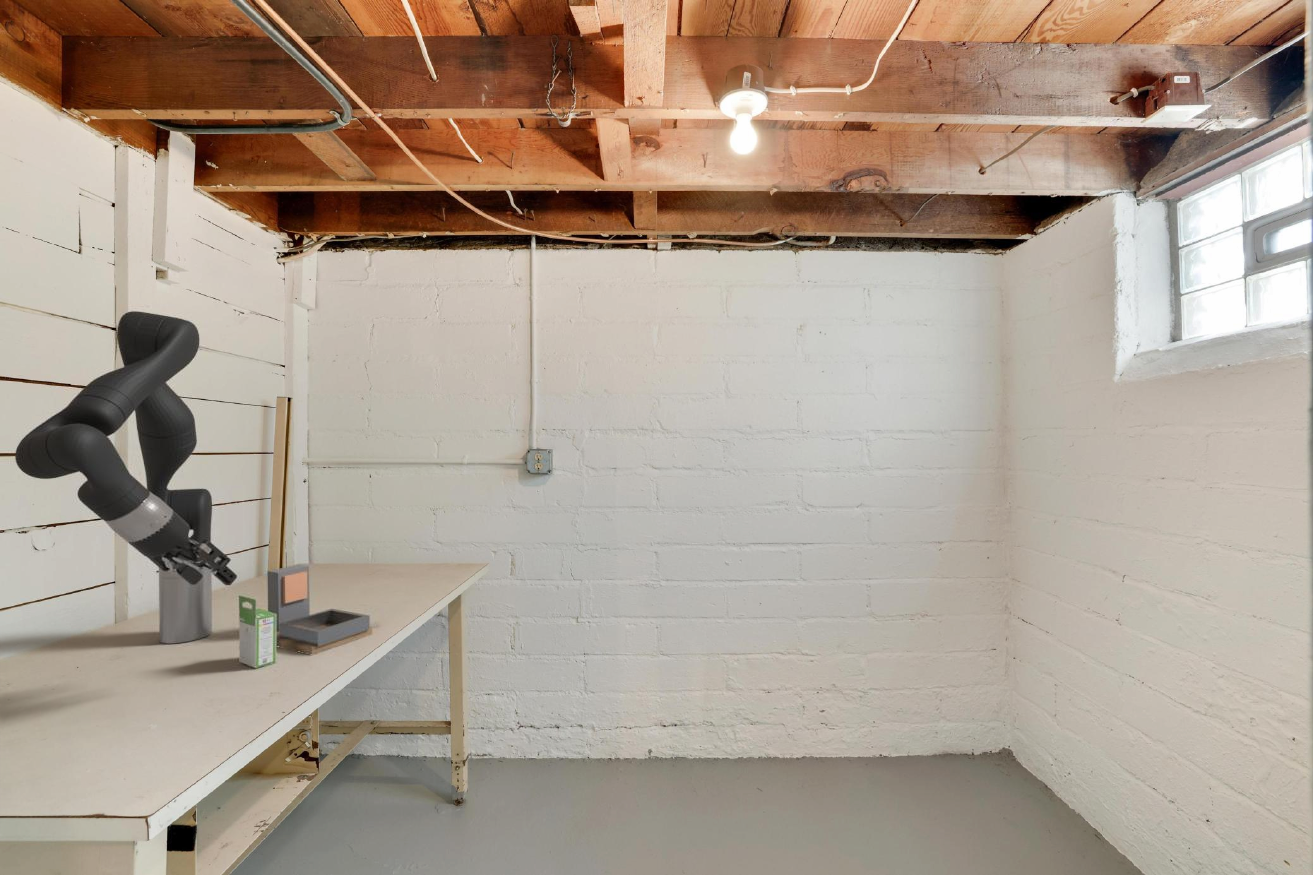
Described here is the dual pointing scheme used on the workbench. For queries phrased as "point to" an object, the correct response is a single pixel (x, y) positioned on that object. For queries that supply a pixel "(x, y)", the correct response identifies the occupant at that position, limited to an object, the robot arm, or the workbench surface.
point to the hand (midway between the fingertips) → (214, 581)
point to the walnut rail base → (315, 649)
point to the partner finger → (288, 593)
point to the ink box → (256, 635)
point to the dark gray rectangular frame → (307, 634)
